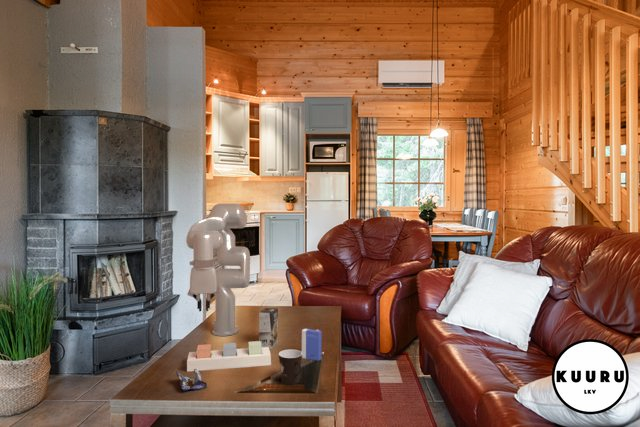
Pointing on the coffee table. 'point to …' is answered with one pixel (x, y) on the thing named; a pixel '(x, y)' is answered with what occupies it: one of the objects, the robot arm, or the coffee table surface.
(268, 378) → the coffee table surface
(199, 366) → the button console
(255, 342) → the sage-green button
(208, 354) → the terracotta button
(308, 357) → the walkman
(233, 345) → the slate-grey button
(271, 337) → the coffee box
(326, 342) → the coffee table surface
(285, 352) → the coffee mug
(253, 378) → the coffee table surface
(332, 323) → the coffee table surface
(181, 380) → the snack package
